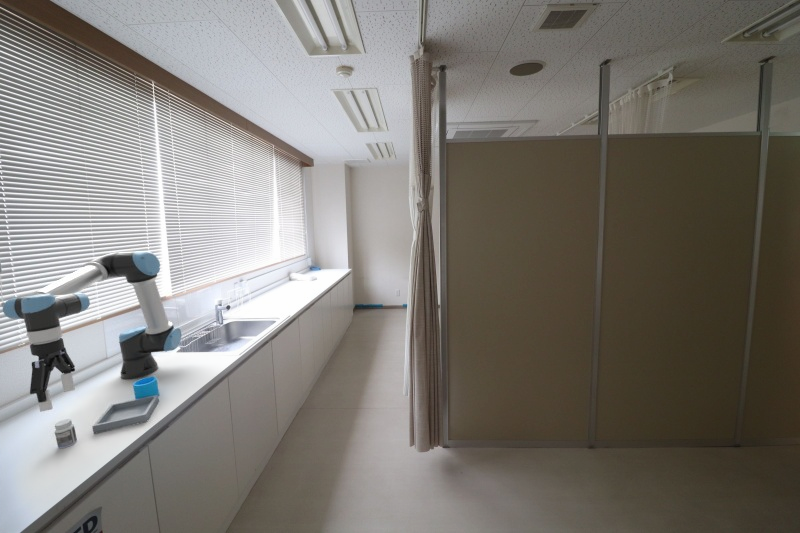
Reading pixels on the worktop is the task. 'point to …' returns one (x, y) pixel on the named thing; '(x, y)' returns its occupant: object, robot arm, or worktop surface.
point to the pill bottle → (65, 433)
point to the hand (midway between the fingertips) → (58, 399)
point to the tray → (126, 414)
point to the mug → (146, 387)
